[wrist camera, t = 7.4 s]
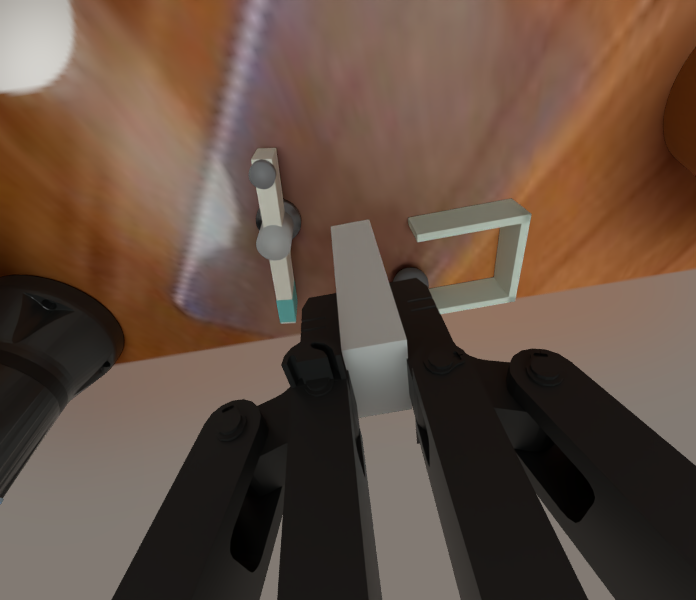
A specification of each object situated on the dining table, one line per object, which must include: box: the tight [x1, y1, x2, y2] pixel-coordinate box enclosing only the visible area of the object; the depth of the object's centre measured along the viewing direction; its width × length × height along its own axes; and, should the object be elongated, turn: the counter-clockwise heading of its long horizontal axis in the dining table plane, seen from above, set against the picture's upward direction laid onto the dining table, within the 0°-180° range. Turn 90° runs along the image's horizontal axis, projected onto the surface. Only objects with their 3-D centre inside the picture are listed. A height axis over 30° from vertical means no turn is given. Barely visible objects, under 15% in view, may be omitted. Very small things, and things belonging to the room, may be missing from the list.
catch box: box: [408, 198, 531, 314], centre depth 36 cm, size 11×11×4 cm
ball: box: [393, 268, 429, 287], centre depth 37 cm, size 4×4×4 cm
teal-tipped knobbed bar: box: [249, 148, 297, 324], centre depth 32 cm, size 3×17×5 cm, turn 1°
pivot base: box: [256, 199, 301, 239], centre depth 33 cm, size 4×4×1 cm
